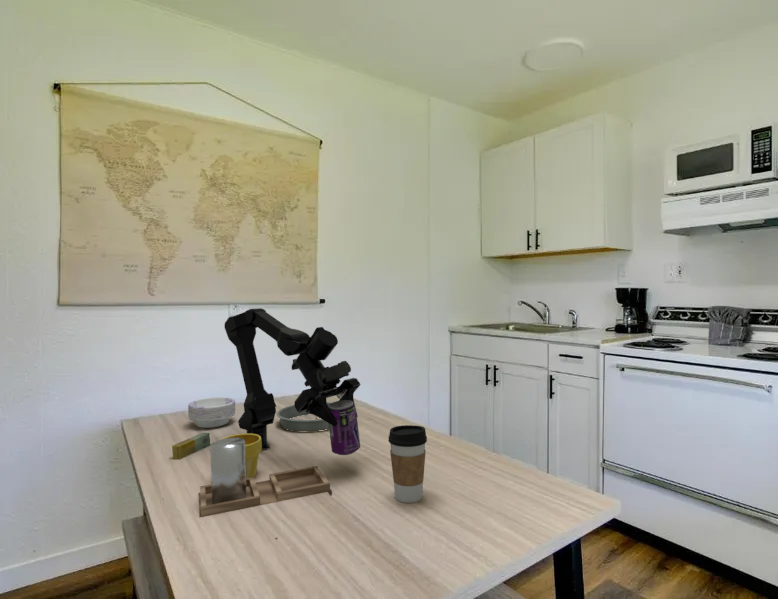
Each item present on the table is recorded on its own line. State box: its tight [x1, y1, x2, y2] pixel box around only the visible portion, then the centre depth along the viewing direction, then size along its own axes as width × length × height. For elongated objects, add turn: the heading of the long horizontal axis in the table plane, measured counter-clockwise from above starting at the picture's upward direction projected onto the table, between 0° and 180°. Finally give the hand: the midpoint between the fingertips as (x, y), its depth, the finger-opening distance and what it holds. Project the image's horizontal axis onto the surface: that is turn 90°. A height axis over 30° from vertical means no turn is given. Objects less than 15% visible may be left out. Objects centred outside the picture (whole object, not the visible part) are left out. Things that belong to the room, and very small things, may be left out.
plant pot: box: [219, 433, 263, 478], centre depth 109 cm, size 10×10×10 cm
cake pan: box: [276, 401, 332, 432], centre depth 156 cm, size 25×25×4 cm
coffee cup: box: [388, 425, 428, 504], centre depth 98 cm, size 8×8×15 cm
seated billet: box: [209, 438, 246, 504], centre depth 97 cm, size 7×7×12 cm
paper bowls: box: [187, 396, 236, 429], centre depth 156 cm, size 15×15×8 cm
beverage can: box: [328, 400, 361, 456], centre depth 112 cm, size 7×7×12 cm
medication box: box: [171, 432, 211, 461], centre depth 129 cm, size 12×3×4 cm, turn 160°
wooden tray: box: [198, 465, 333, 518], centre depth 100 cm, size 12×27×2 cm, turn 113°
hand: (346, 421), depth 110 cm, fingers closed on beverage can, 7 cm apart
